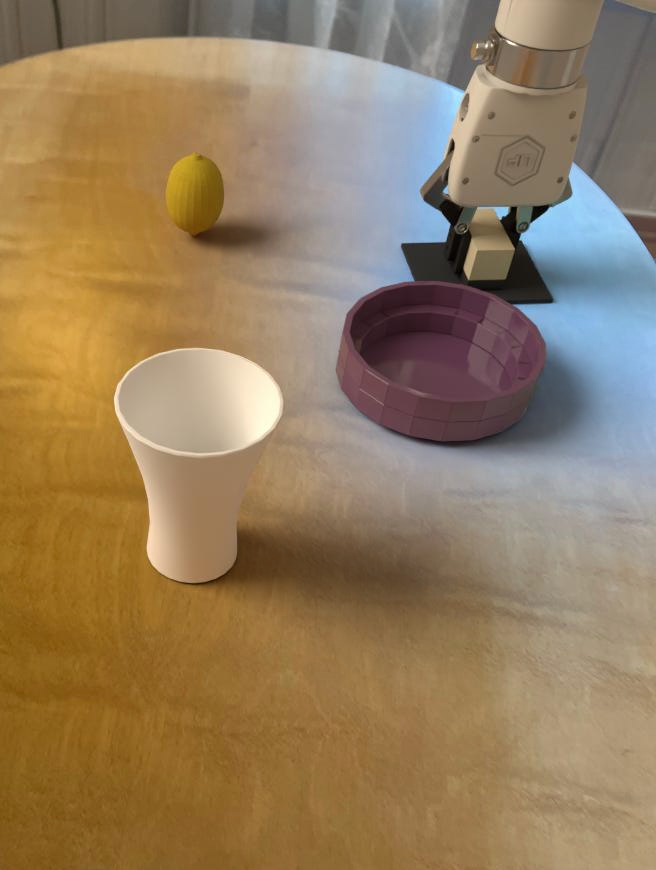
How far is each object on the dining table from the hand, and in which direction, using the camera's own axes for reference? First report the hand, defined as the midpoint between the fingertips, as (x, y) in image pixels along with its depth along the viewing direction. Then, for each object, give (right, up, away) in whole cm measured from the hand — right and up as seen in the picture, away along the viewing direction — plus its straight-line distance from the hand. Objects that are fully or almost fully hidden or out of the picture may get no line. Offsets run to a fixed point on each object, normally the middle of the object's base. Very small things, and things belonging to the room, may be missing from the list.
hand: (475, 263), depth 94 cm
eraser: (0, 0, 0) cm, 0 cm away
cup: (-27, -29, -22) cm, 45 cm away
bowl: (-7, -14, -10) cm, 18 cm away
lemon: (-26, +4, +4) cm, 27 cm away
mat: (0, -1, +1) cm, 1 cm away
